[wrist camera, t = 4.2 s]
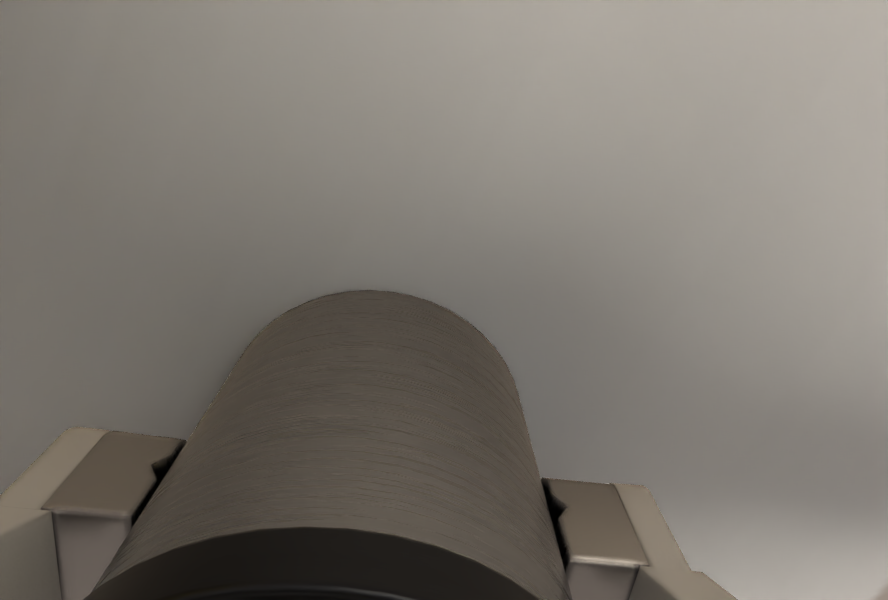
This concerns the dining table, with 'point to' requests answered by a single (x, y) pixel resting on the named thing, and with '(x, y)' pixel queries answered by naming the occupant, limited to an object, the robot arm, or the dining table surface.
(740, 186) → the dining table surface
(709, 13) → the dining table surface
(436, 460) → the tin
